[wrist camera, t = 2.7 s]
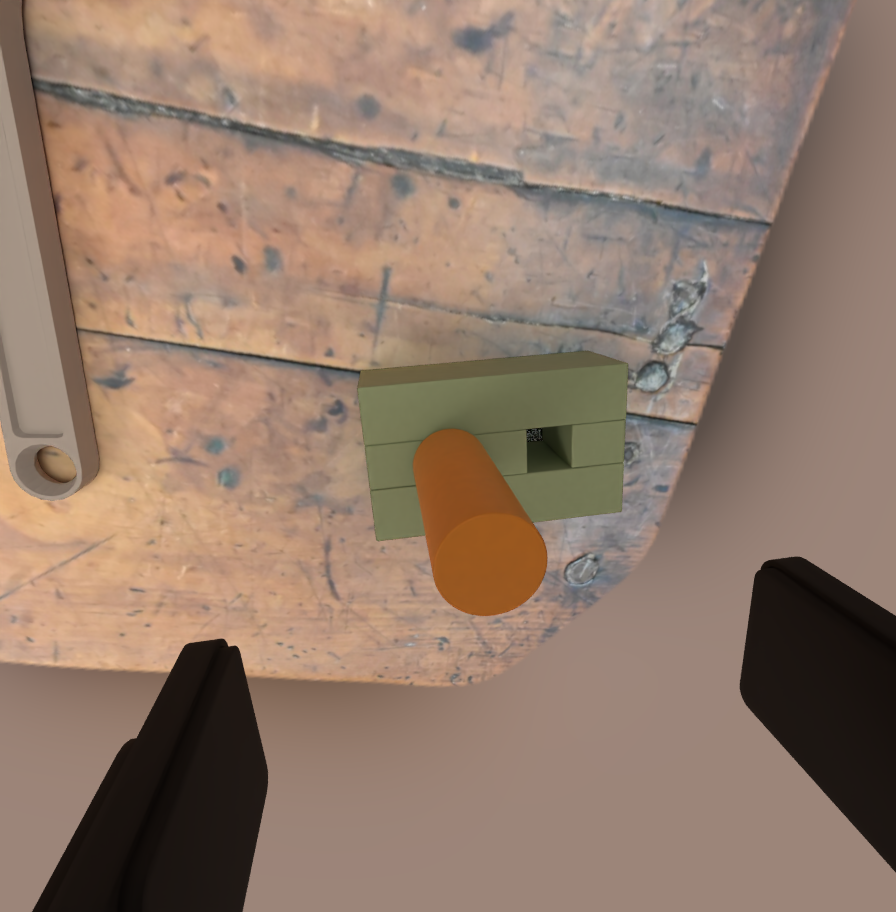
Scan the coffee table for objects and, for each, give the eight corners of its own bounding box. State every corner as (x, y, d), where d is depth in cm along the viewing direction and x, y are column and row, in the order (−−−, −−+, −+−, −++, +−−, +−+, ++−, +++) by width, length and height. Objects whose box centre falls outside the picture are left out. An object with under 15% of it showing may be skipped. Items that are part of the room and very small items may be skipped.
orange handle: (465, 399, 23) (547, 506, 12) (469, 458, 24) (548, 608, 13) (403, 405, 23) (428, 520, 12) (409, 464, 24) (437, 623, 13)
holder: (360, 370, 22) (357, 387, 19) (588, 350, 23) (629, 363, 20) (376, 502, 24) (376, 542, 21) (586, 478, 25) (622, 512, 22)
